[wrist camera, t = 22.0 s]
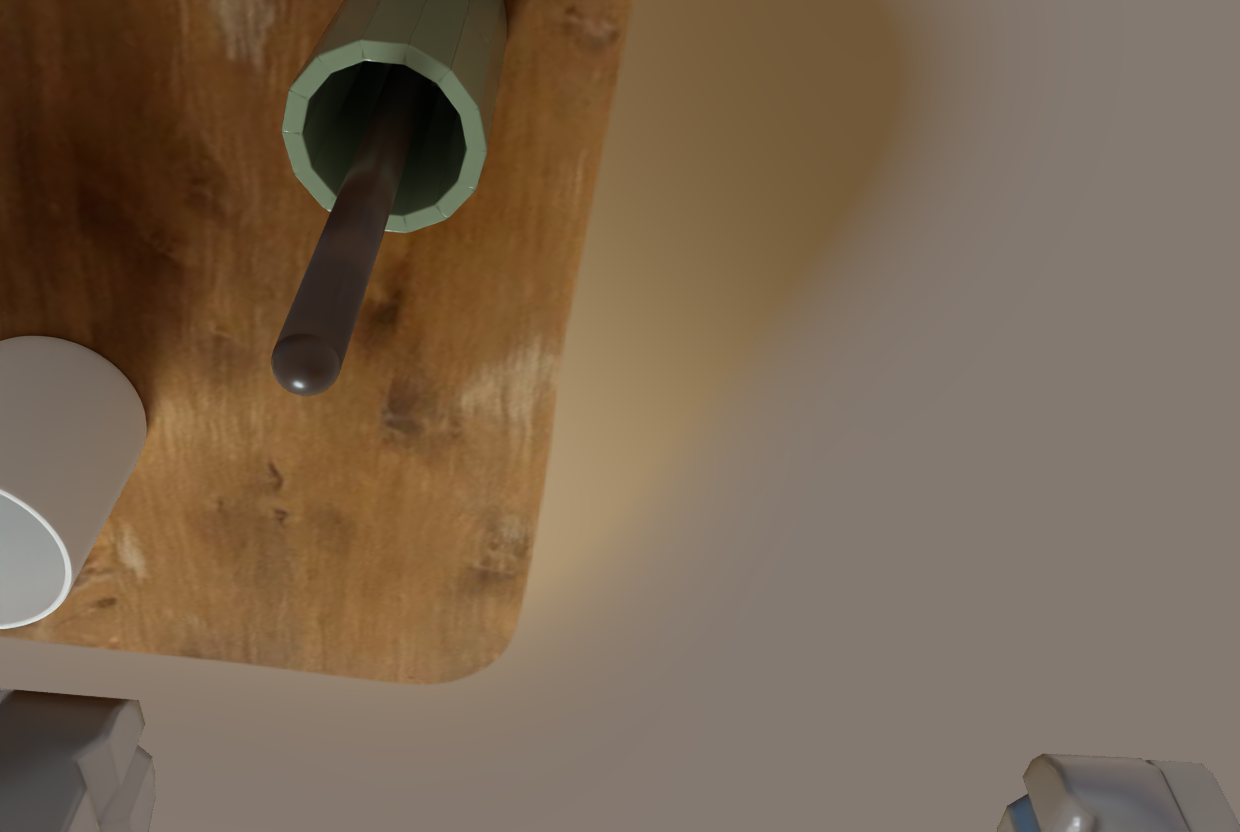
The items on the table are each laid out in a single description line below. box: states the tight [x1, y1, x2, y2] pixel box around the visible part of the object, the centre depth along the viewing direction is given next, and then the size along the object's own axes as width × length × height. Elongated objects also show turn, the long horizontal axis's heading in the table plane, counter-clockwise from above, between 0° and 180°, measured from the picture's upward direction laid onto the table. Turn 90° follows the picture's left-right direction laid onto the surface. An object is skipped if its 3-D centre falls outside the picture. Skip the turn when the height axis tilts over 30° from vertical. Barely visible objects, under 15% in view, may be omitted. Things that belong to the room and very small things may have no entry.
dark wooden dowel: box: [271, 64, 432, 396], centre depth 33 cm, size 2×1×24 cm, turn 174°
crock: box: [282, 0, 508, 233], centre depth 38 cm, size 6×6×12 cm
